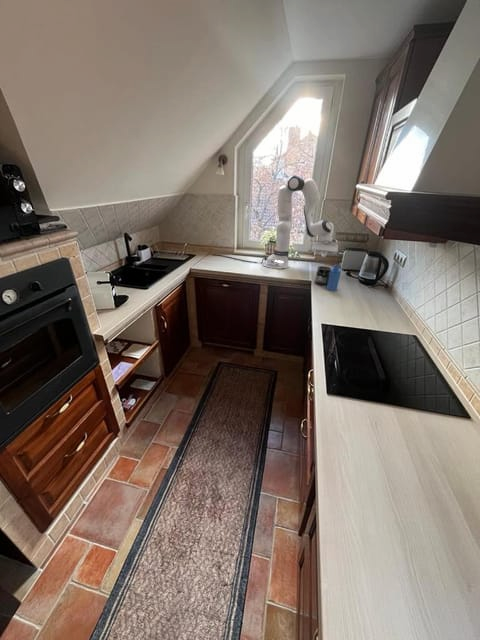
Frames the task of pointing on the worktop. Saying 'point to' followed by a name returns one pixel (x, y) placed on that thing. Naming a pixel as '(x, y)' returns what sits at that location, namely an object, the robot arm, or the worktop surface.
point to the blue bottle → (334, 278)
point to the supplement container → (322, 275)
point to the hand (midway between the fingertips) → (323, 256)
